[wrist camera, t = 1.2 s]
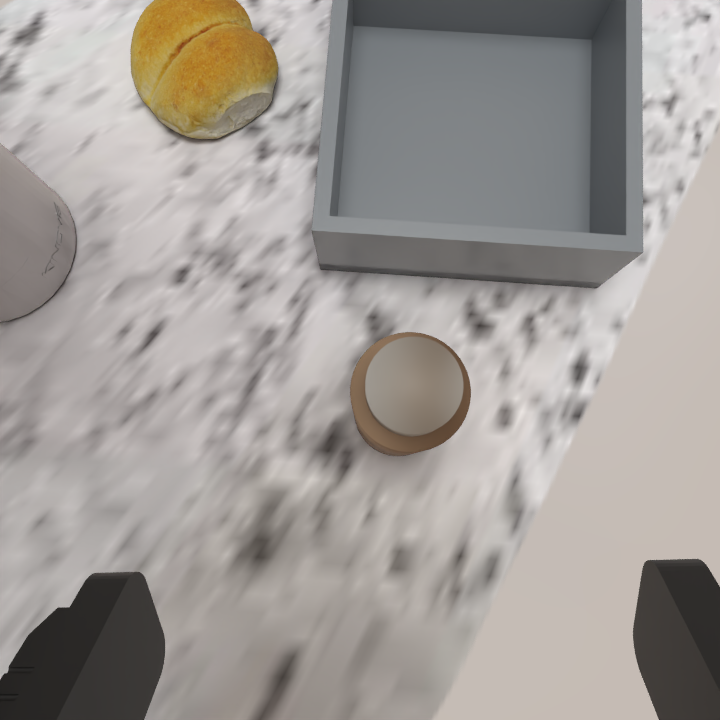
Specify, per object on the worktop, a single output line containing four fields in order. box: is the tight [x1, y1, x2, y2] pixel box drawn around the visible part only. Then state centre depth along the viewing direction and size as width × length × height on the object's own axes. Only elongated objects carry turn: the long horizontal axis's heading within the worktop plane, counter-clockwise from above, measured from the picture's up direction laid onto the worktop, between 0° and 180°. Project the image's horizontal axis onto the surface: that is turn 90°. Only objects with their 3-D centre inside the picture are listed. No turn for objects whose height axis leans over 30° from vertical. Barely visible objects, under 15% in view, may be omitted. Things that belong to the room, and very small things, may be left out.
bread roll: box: [131, 0, 278, 139], centre depth 36 cm, size 8×9×4 cm
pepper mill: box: [350, 332, 471, 456], centre depth 28 cm, size 5×5×12 cm
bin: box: [312, 0, 643, 288], centre depth 34 cm, size 16×16×6 cm
